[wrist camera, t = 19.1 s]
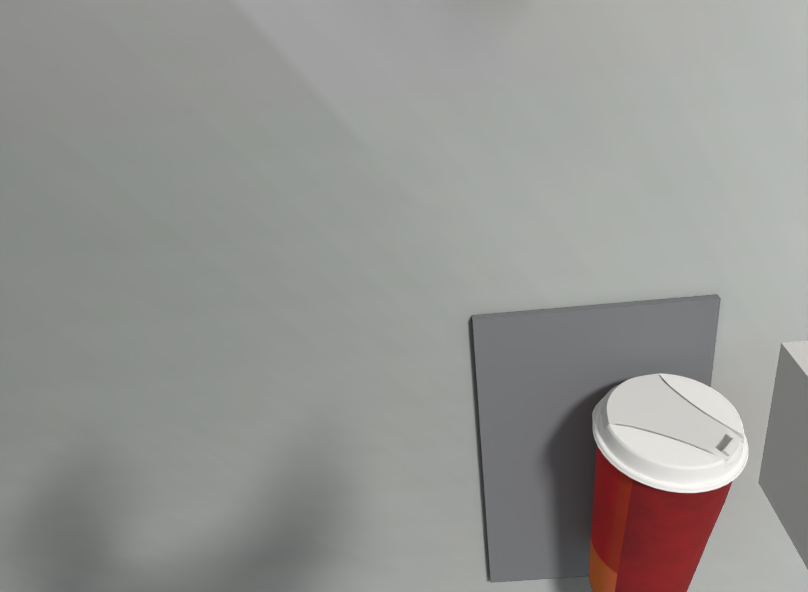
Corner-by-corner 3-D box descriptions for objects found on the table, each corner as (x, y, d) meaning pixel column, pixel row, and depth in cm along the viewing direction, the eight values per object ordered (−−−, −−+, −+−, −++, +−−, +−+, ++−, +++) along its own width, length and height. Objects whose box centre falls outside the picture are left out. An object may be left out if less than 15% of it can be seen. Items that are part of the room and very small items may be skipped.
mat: (490, 576, 55) (490, 582, 55) (472, 315, 44) (472, 319, 44) (687, 563, 54) (689, 569, 54) (717, 294, 43) (720, 298, 43)
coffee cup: (723, 578, 50) (779, 410, 41) (662, 668, 45) (711, 500, 37) (610, 510, 55) (639, 347, 46) (544, 585, 50) (563, 419, 42)
